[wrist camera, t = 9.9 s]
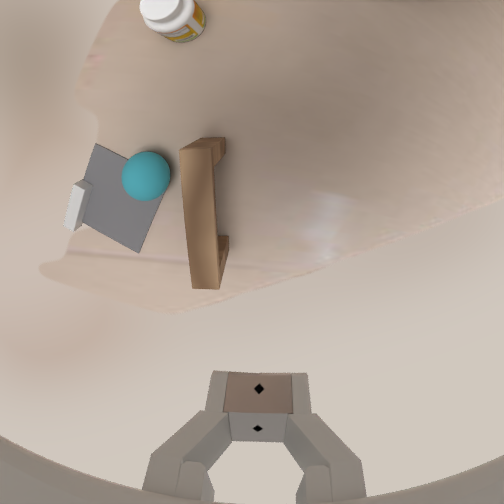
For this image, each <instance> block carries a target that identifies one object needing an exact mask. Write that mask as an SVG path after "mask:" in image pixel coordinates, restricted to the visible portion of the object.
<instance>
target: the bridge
mask: <svg viewBox="0 0 504 504" xmlns="http://www.w3.org/2000/svg"><path fill="white" fill-rule="evenodd" d="M224 154H225V137H220V138H200V139H198V140H196V141H194V142H193V143H191V144H189V145H187V146H185V147H183V148H182V149H180V150H179V157H180V172H181V185H182V197H183V208H184V219H185V229H186V239H187V248H188V257H189V266H190V274H191V282H192V289H219V288H220V284H221V280H222V276H223V272H224V268H225V264H226V260H227V256H228V252H229V237H228V236H218V235H217V218H216V199H215V179H214V166H215V165H216V164H217V163H218V162H219V160H220V159H221V158H222V157H223V156H224Z"/></svg>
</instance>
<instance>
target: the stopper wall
mask: <svg viewBox="0 0 504 504" xmlns="http://www.w3.org/2000/svg"><path fill="white" fill-rule="evenodd" d="M92 187H93V185H91V184H89V183H88V182H86V181H84V180H83V179H82V180H80V181H79V182H77V183H75V184H74V185H73V188H72V192H71V196H70V200H69V204H68V208H67V212H66V216H65V220H64V225H63V226H64V227H66V228H68V229H69V230H71V231H73V232H74V231H75V230H77V229H78V228H79V227H80V226H82V223H83V222H82V221H83V217H84V213H85V210H86V206H87V203H88V200H89V196H90V193H91V190H92Z"/></svg>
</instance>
